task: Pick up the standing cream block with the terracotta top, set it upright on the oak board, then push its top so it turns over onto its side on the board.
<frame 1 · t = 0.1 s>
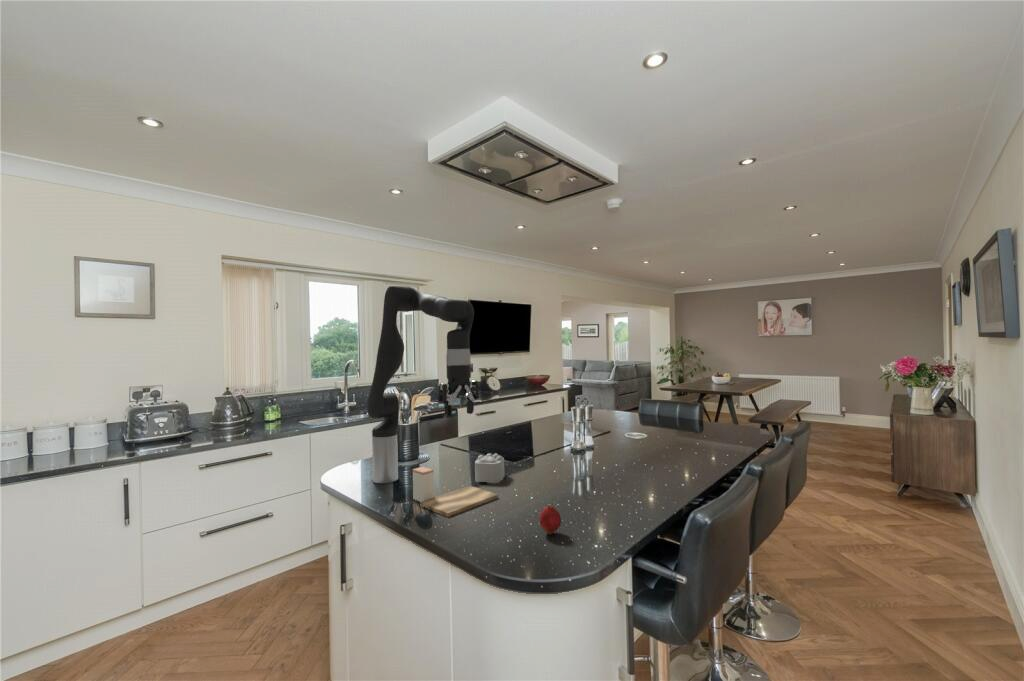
hand: (459, 415, 135), 29 cm above the counter, tool pointing down, fingers open, 8 cm apart
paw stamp: (490, 478, 166), on the counter
block: (423, 499, 143), on the counter
board: (459, 501, 141), on the counter
onion: (550, 534, 116), on the counter
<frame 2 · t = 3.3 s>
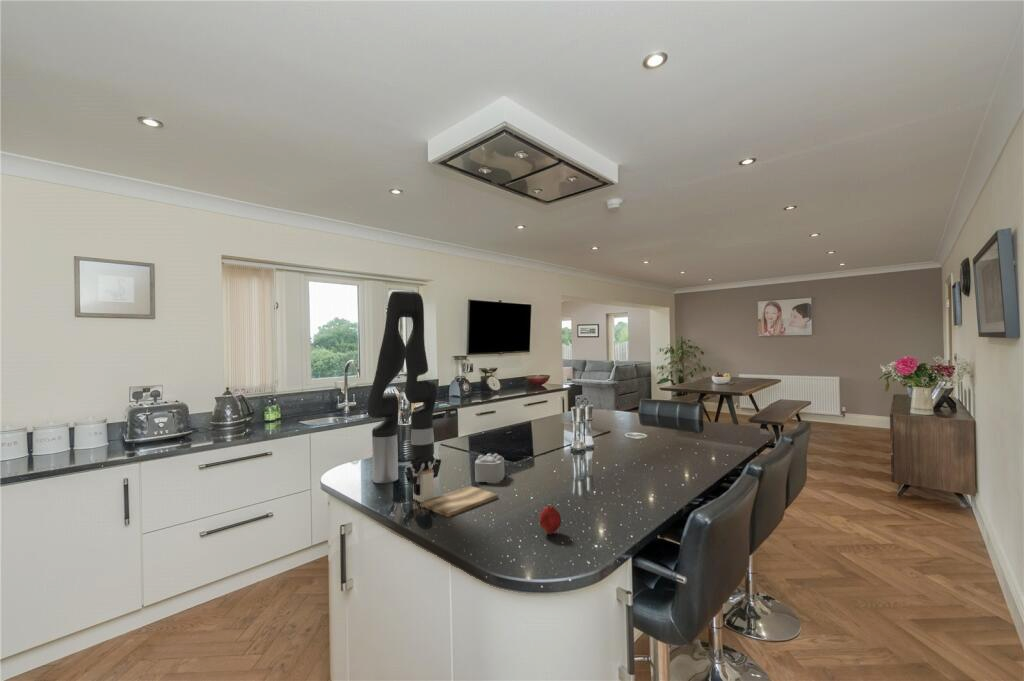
hand: (423, 492, 143), 2 cm above the counter, tool pointing down, fingers closed on block, 4 cm apart
block: (423, 499, 143), on the counter, touching gripper
everything else where it was.
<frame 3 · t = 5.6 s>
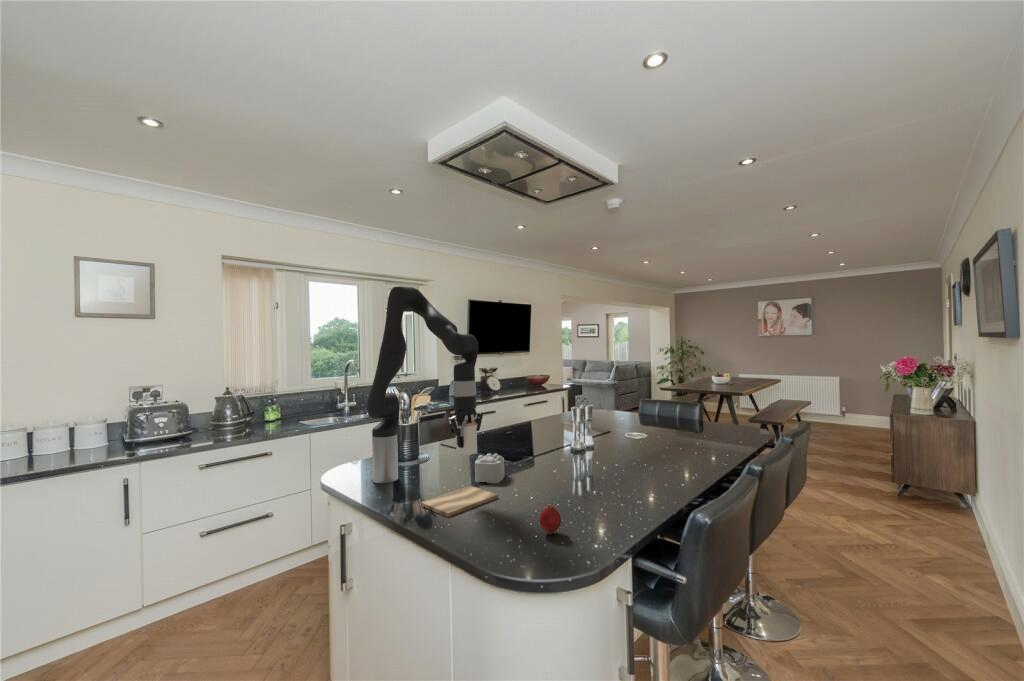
hand: (466, 445, 143), 18 cm above the counter, tool pointing down, fingers closed on block, 4 cm apart
block: (466, 452, 143), point 15 cm above the counter, touching gripper
everything else where it was.
when the fingers open (4 cm above the counter, at t = 8.4 s): block stays where it is, resting on board.
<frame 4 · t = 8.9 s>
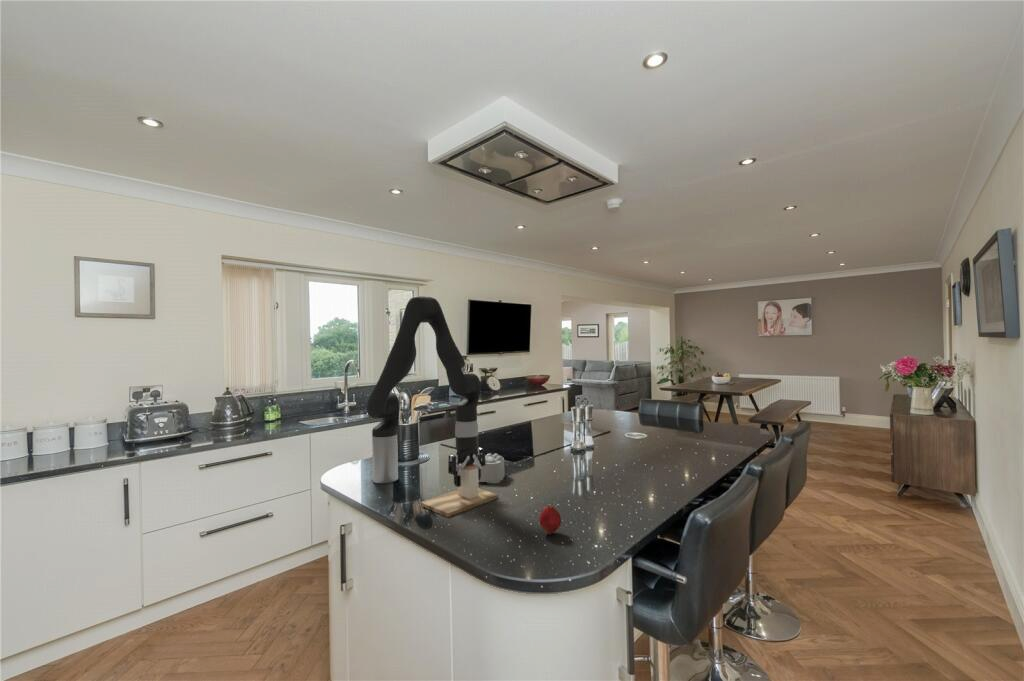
hand: (467, 483, 143), 5 cm above the counter, tool pointing down, fingers open, 8 cm apart
block: (468, 495, 143), point 1 cm above the counter, touching board
everything else where it was.
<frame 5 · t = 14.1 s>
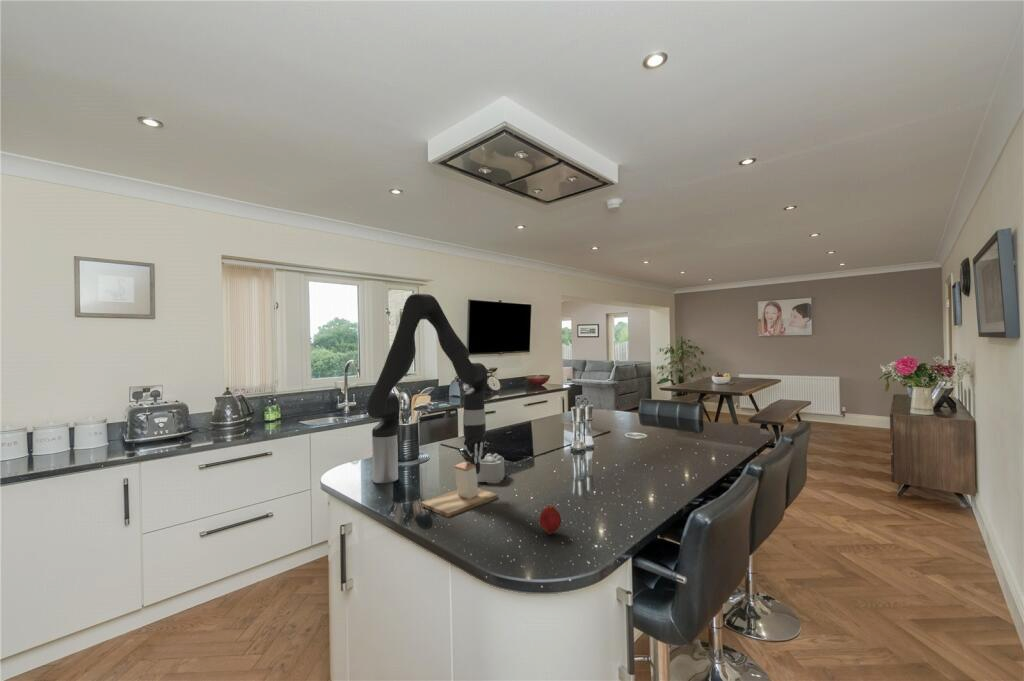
hand: (475, 473, 146), 8 cm above the counter, tool pointing down, fingers closed
block: (468, 494, 143), point 1 cm above the counter, tilted 7°, touching board
everything else where it was.
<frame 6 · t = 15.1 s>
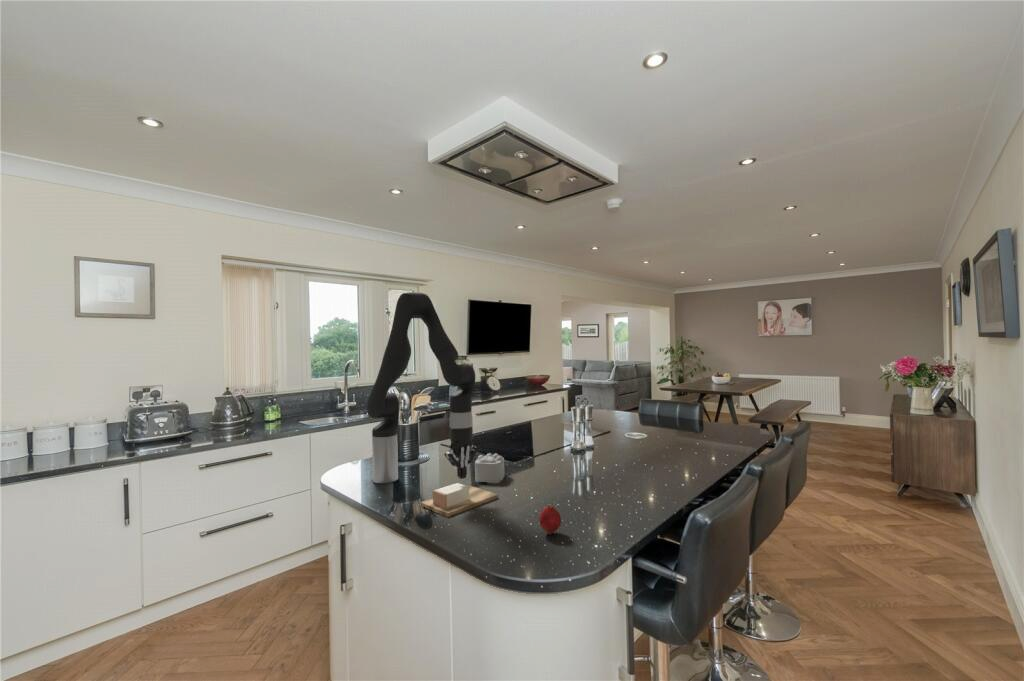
hand: (462, 478, 142), 7 cm above the counter, tool pointing down, fingers closed
block: (463, 490, 142), point 3 cm above the counter, tilted 90°, touching board
everything else where it was.
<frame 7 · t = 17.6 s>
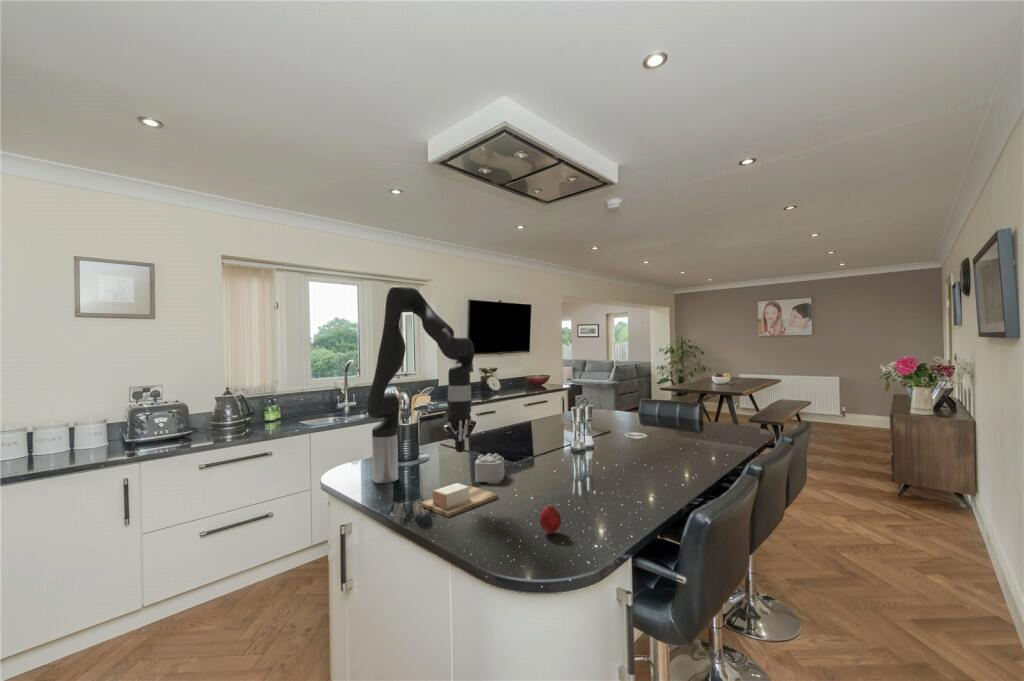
hand: (460, 451, 141), 16 cm above the counter, tool pointing down, fingers closed
nothing on the counter moved.
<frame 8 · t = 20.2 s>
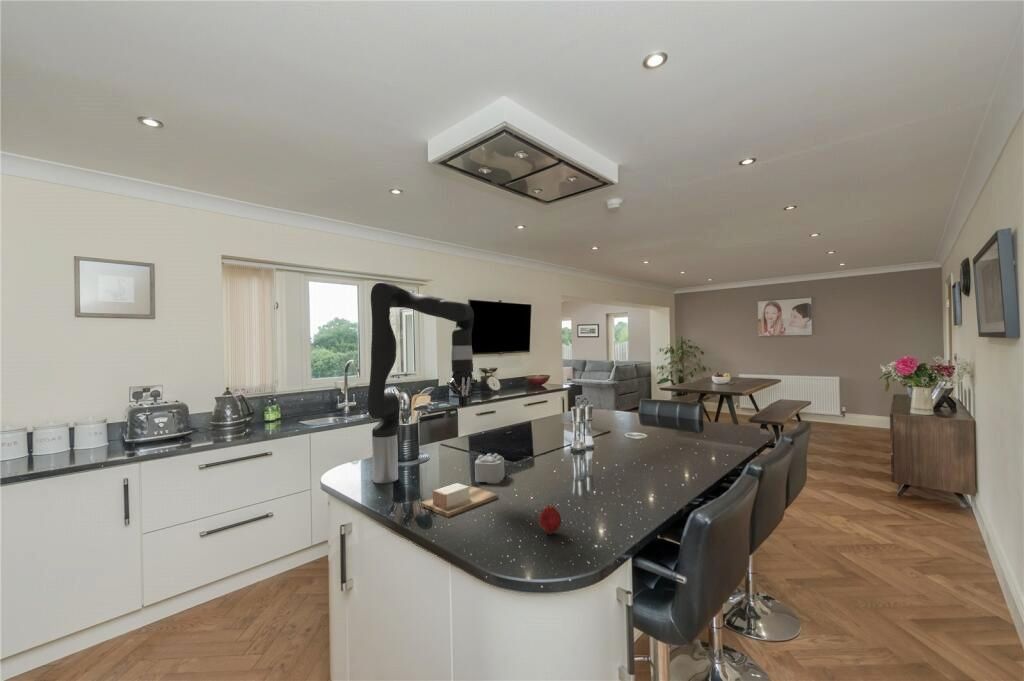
hand: (463, 406, 155), 29 cm above the counter, tool pointing down, fingers closed
nothing on the counter moved.
at the end: block tilted 90°; block inside the target area on the board (1.5 cm from its centre), point 3.2 cm above the board's base; the gripper is holding nothing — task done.
